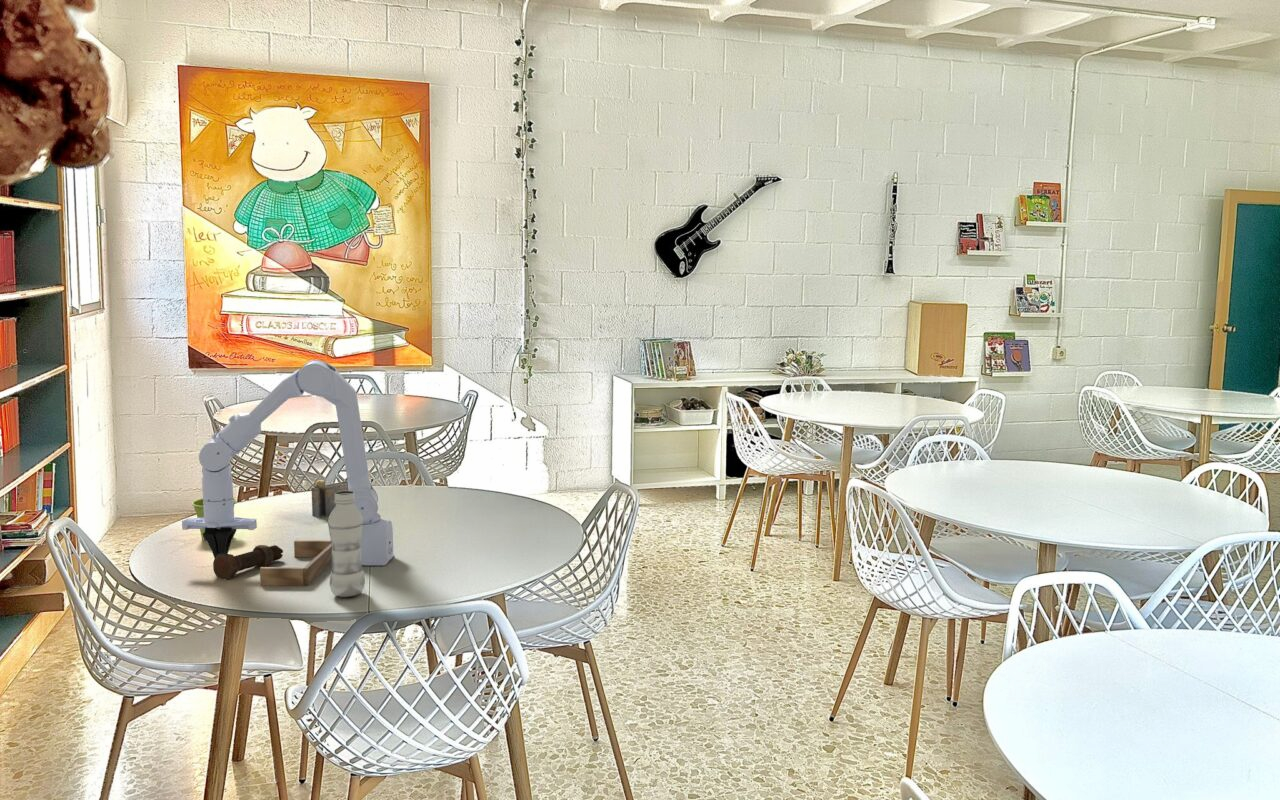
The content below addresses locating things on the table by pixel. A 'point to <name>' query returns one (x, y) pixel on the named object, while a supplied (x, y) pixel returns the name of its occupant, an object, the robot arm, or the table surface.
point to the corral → (300, 574)
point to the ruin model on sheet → (325, 497)
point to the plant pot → (201, 511)
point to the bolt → (245, 560)
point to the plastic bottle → (346, 546)
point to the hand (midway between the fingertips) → (221, 563)
